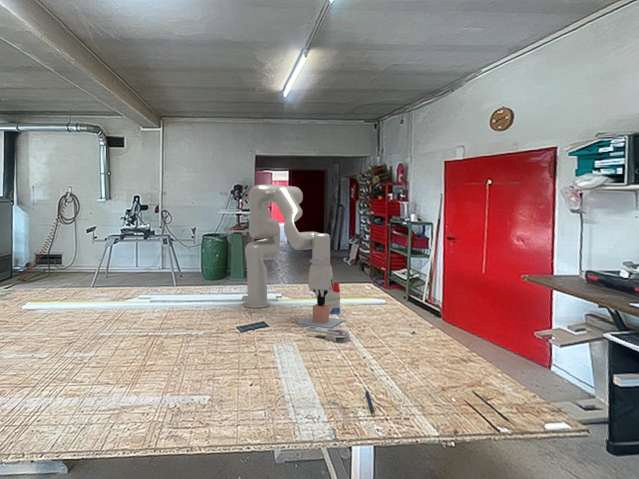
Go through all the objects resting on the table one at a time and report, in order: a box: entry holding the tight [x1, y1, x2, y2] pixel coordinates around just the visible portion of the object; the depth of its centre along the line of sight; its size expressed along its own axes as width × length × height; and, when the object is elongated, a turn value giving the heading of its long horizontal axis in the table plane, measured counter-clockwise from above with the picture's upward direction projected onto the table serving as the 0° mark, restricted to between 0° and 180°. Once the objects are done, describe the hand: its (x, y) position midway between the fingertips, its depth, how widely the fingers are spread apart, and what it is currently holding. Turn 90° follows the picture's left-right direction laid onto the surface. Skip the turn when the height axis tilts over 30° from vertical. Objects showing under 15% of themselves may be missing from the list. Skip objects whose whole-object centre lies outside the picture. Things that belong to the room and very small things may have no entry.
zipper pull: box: [305, 326, 351, 344], centre depth 188 cm, size 8×18×4 cm, turn 61°
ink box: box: [321, 281, 341, 315], centre depth 227 cm, size 8×5×15 cm, turn 84°
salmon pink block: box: [312, 303, 330, 323], centre depth 210 cm, size 5×5×7 cm
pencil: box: [365, 390, 376, 418], centre depth 129 cm, size 1×1×15 cm
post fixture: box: [296, 315, 345, 329], centre depth 210 cm, size 16×14×7 cm
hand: (321, 305), depth 209 cm, fingers closed
